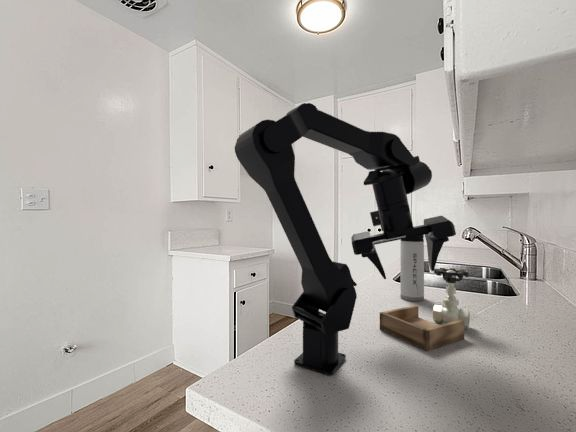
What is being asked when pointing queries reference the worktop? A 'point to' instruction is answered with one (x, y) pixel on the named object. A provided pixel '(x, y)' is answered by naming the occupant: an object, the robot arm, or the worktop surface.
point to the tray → (420, 328)
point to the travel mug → (412, 268)
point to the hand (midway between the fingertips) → (408, 274)
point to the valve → (451, 299)
